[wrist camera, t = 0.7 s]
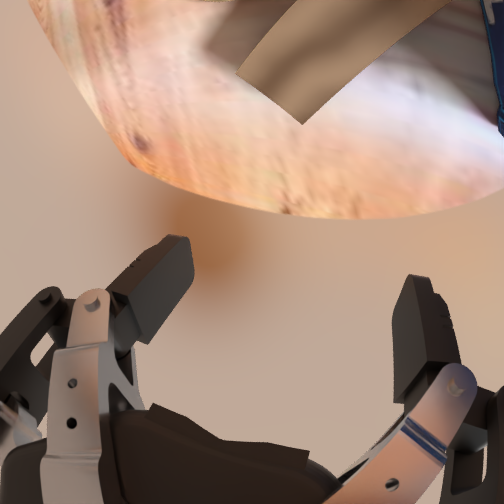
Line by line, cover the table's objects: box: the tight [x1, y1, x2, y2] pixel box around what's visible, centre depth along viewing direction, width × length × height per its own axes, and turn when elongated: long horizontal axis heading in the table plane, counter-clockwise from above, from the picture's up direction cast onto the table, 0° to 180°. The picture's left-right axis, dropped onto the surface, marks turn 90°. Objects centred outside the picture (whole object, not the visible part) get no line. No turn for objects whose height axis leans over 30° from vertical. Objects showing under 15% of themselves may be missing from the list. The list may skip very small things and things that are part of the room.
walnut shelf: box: [235, 0, 452, 125], centre depth 18 cm, size 8×22×8 cm, turn 145°
